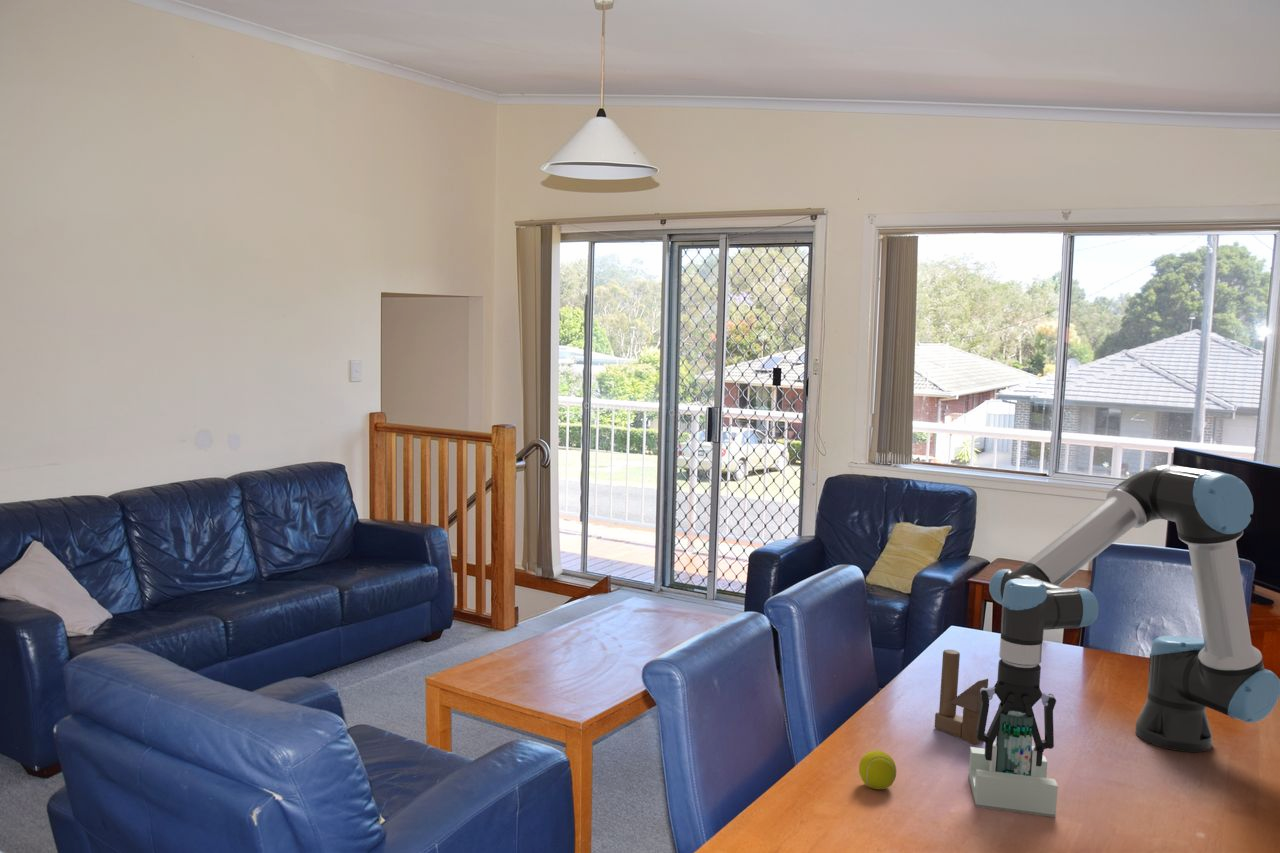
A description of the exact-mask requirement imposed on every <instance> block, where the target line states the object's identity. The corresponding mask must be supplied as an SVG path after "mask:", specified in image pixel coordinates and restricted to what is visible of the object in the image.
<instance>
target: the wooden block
mask: <svg viewBox="0 0 1280 853" xmlns="http://www.w3.org/2000/svg"><path fill="white" fill-rule="evenodd" d="M960 660H961V653H960V652H959V651H958V650H956V649H944V650H943V652H942V660H941V661H942V663H941V675H940V676H941V677H940V680H941V681H940V694H939V707H938V712H936V713H935V715H934V728H935V729H936V730H939V731H940V732H941V731H942V732H943V733H946V734H949V735H951V736H954V737H956V738H958V739H961V740H962V741H965V742H967V743H970V744H972V745H977V744H981V743H984V742H983V741H979V740H978V739H977V735H976V729H977V723H978V717H979V711H980V705H981V699H982V698H981V693H980V688H981V687H985V688H989V678H984V679H981V680H978V681H976V682H975V683H974V684H972V685H971V686H969V687H968V688H966V689H965V690H964V691H963V692H961V693H960V694H958V687H959V686H958V685H959V675H960V674H959V672H960V670H959V669H960ZM957 706H958V707H961V708H963V710H962V716H961V715H958V714H957Z"/></svg>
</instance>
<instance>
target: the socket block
mask: <svg viewBox="0 0 1280 853" xmlns="http://www.w3.org/2000/svg"><path fill="white" fill-rule="evenodd" d="M968 760H969V762H968V775H967V776H968V780H969V784H970V787H971V788H970V789H971V792H972V793H971V794H972V797H973V802H974V806H975V808H982V809H987V810H988V809H989V810H999V811H1003V812H1004V811H1005V812H1011V813H1021V814H1025V815H1026V814H1027V815H1033V816H1034V815H1036V816H1043V817H1049V818H1050V817H1051V818H1056V814H1057V801H1058V787H1059V785H1058V783H1057V781H1056V779H1055V778H1050V777H1049V778H1048V777H1047V774H1048V771H1047V770H1048V759H1047V758H1046V756H1045V755H1042V765H1041V767H1040V766H1036V771H1035V777H1034V776H1026V775H1018V774H1010V773H1002V772H994V771H989V767H990V761H989V760H986V758H985V747H984V748H983V747H974V746H970V747H969V759H968Z"/></svg>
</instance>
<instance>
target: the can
mask: <svg viewBox="0 0 1280 853" xmlns="http://www.w3.org/2000/svg"><path fill="white" fill-rule="evenodd" d="M1032 730H1033V717H1027V714H1026V712H1023V711H1019V710H1009V712H1008V714H1007V715H1006V714H1003V713H1001V716H1000V730H999V732H998V734H997V736H996V741H995V742H996V745H997V756H996V770H995V772H1002V773H1010V774H1018V775H1026V776H1030V765H1031V751H1032V746H1033V733H1032Z"/></svg>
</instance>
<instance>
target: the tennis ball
mask: <svg viewBox="0 0 1280 853" xmlns="http://www.w3.org/2000/svg"><path fill="white" fill-rule="evenodd" d="M858 772H859V776H860V779H861V780H862V782H863V783H864V784H865V785H866V786H867V787H869V788H871V789H874V790H885V789H888V788H889V787H891V786H892V785H893V783H894V782H895V781H896V780H895V779H896V777H897V766H896V763H895V761H894V759H893V758H892V756H890V755H889V754H888V753H887V752H884V751H882V750H871V751H868V752H866V753H865V754H864V755H863V756H862V757H861V758H860V761H859V764H858Z"/></svg>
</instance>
